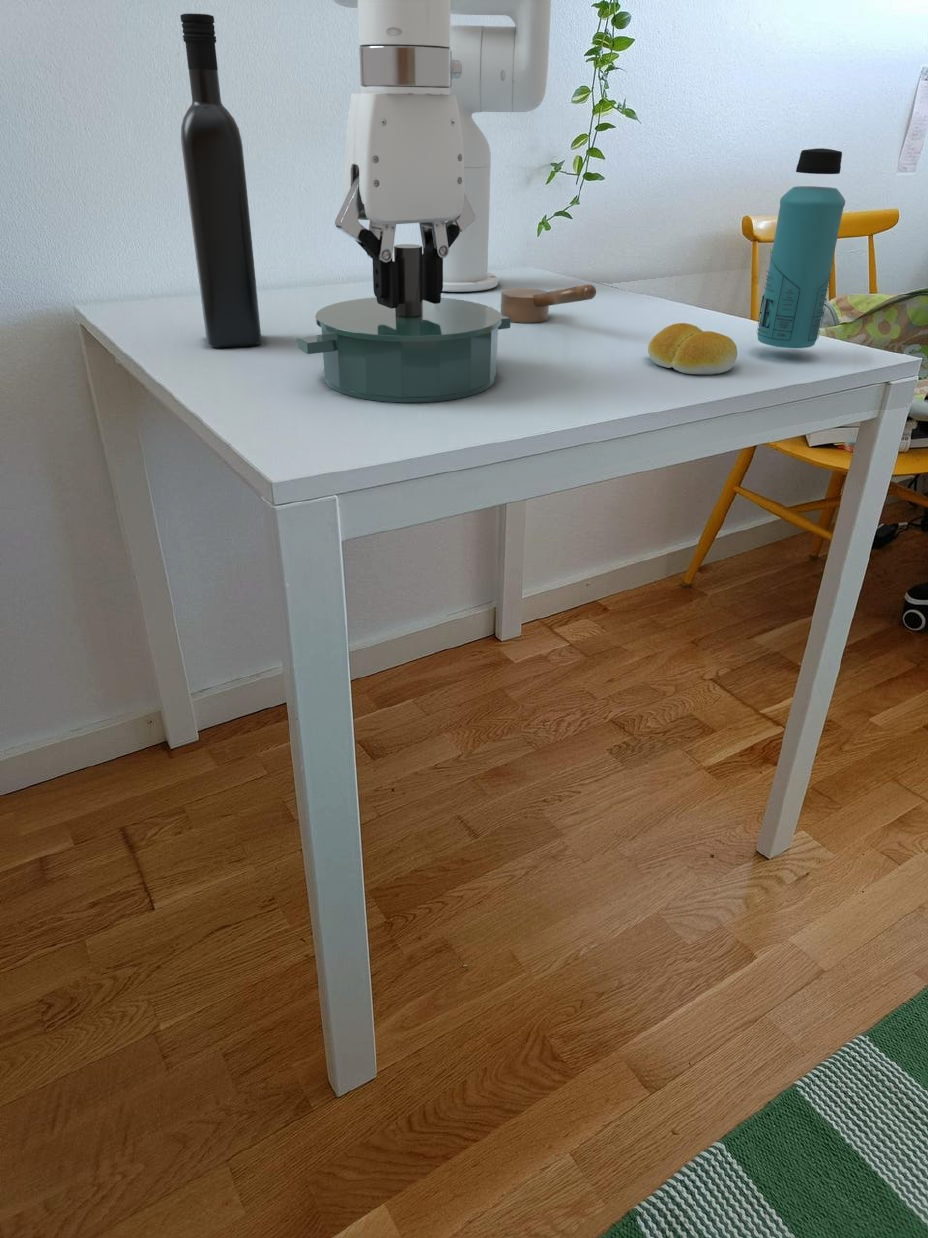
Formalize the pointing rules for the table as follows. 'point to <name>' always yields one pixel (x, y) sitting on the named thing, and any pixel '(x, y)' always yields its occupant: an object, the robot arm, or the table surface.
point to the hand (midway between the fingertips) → (408, 301)
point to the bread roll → (692, 350)
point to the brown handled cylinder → (539, 302)
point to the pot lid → (408, 311)
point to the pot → (407, 366)
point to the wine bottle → (217, 198)
